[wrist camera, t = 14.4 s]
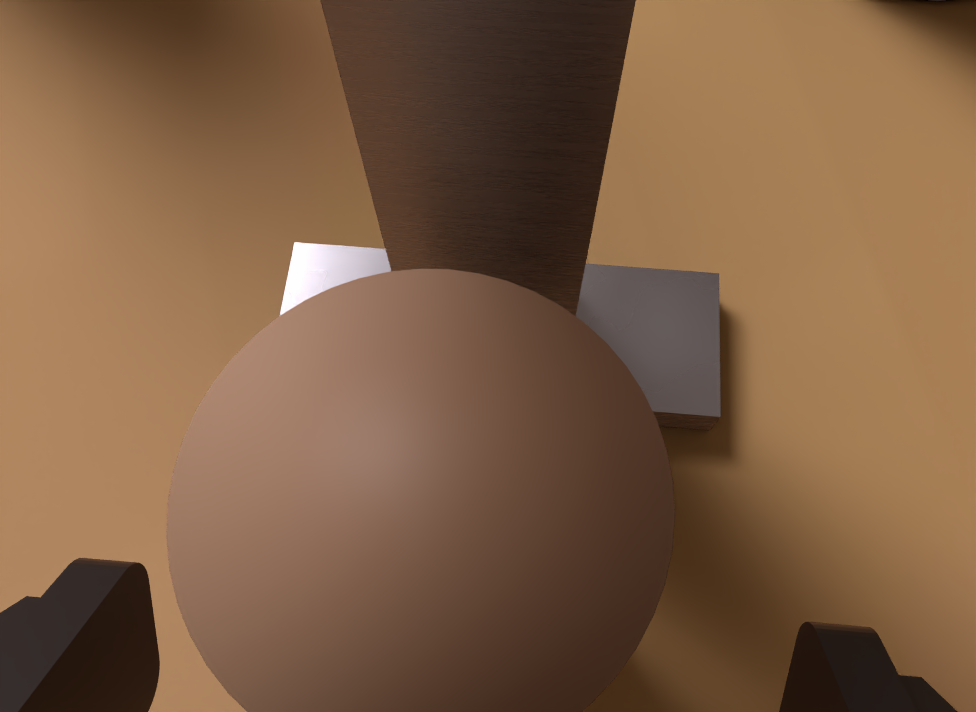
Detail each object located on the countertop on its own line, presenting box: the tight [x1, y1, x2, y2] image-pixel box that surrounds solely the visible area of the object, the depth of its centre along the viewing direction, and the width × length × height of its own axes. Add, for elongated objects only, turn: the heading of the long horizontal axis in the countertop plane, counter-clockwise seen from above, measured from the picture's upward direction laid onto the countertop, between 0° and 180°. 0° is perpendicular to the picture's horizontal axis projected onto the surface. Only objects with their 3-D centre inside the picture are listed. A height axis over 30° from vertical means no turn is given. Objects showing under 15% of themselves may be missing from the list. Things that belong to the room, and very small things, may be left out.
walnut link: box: [167, 269, 675, 712], centre depth 12 cm, size 4×4×12 cm
